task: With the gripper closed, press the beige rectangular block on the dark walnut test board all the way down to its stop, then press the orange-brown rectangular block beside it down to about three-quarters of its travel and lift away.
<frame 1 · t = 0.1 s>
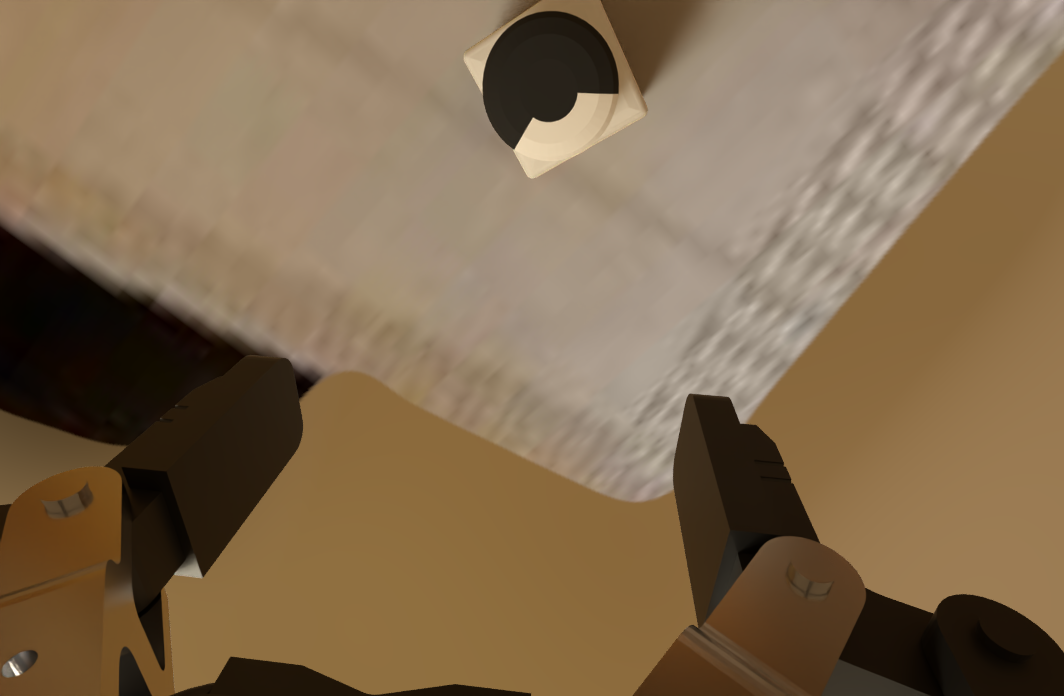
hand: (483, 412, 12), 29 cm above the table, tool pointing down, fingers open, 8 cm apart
medicine bottle: (562, 77, 35), on the table
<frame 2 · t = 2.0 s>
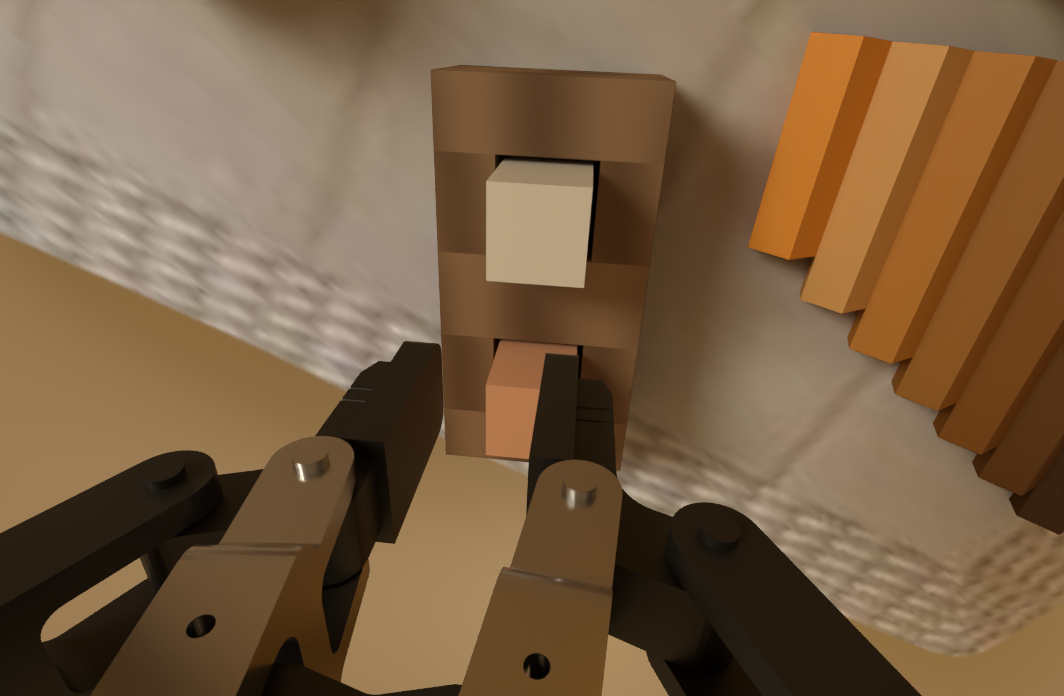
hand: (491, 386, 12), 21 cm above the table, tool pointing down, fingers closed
test board: (548, 260, 33), on the table
pan flute: (943, 304, 33), on the table
orange-brown rectangular block: (533, 393, 29), point 7 cm above the table, slide at 0.0 cm
beige rectangular block: (542, 217, 25), point 7 cm above the table, slide at 0.0 cm
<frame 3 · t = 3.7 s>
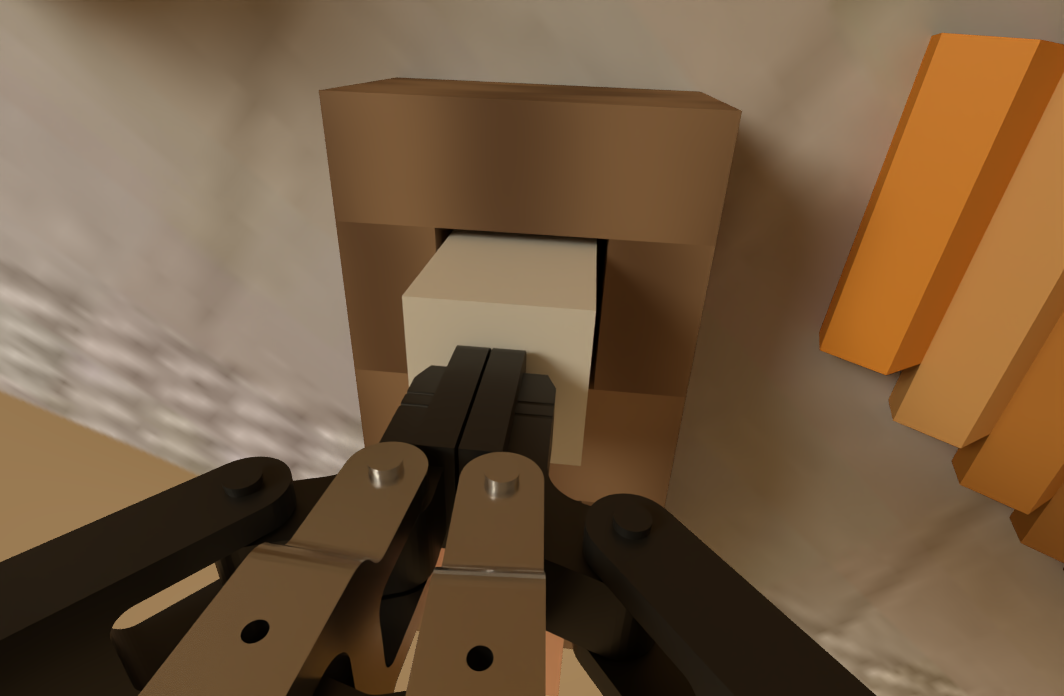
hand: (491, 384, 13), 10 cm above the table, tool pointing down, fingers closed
test board: (533, 352, 23), on the table
orange-brown rectangular block: (507, 571, 19), point 7 cm above the table, slide at 0.0 cm
beige rectangular block: (513, 331, 15), point 7 cm above the table, slide at 0.1 cm, touching gripper
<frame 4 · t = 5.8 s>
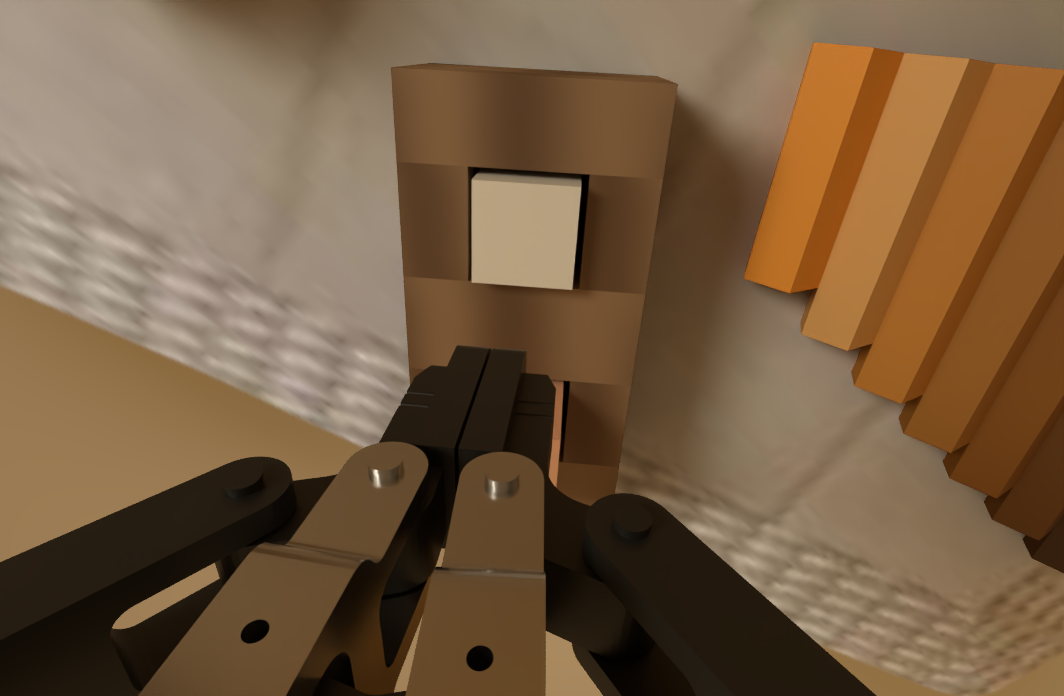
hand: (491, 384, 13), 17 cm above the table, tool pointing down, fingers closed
test board: (531, 282, 30), on the table
pan flute: (954, 336, 30), on the table
orange-brown rectangular block: (514, 435, 25), point 7 cm above the table, slide at 0.0 cm
beige rectangular block: (529, 217, 24), point 4 cm above the table, slide at 3.1 cm
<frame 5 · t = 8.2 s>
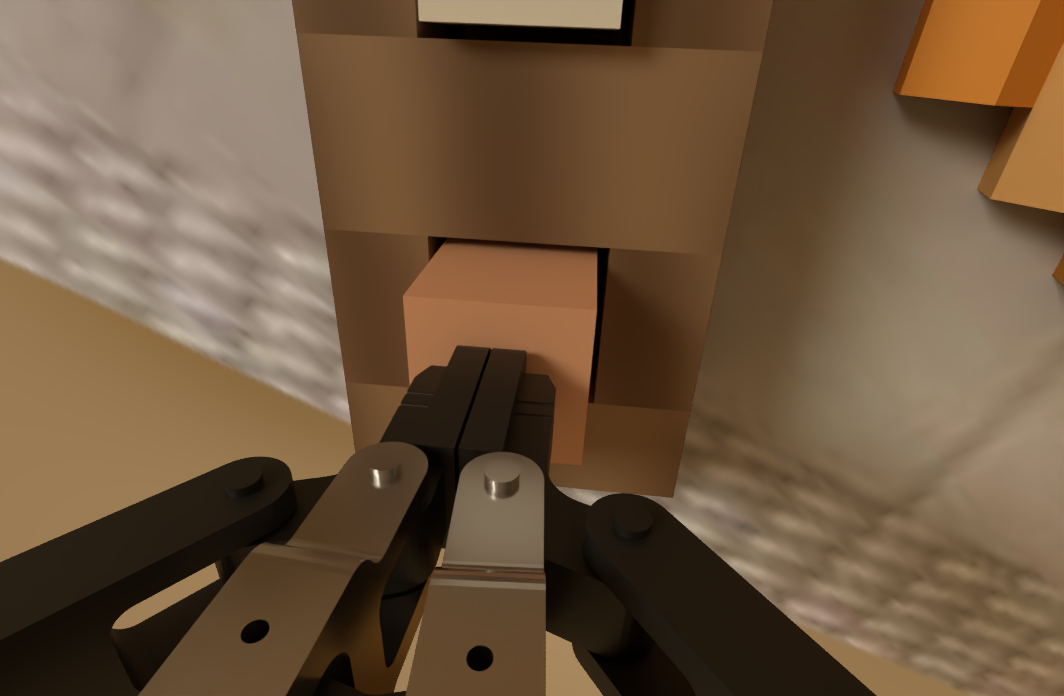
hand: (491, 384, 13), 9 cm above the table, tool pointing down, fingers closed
test board: (542, 119, 18), on the table
orange-brown rectangular block: (514, 331, 15), point 6 cm above the table, slide at 0.9 cm, touching gripper
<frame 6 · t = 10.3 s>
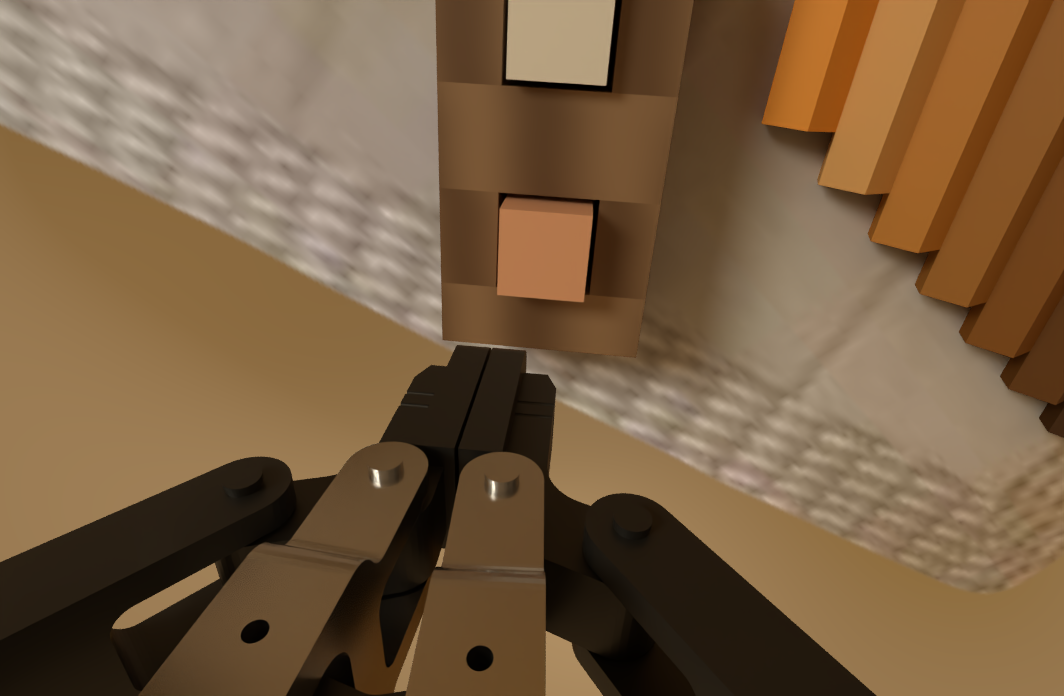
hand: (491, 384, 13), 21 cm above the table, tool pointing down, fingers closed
test board: (558, 127, 30), on the table
pan flute: (971, 195, 30), on the table
orange-brown rectangular block: (547, 238, 28), point 5 cm above the table, slide at 2.3 cm
beige rectangular block: (562, 27, 24), point 4 cm above the table, slide at 3.1 cm
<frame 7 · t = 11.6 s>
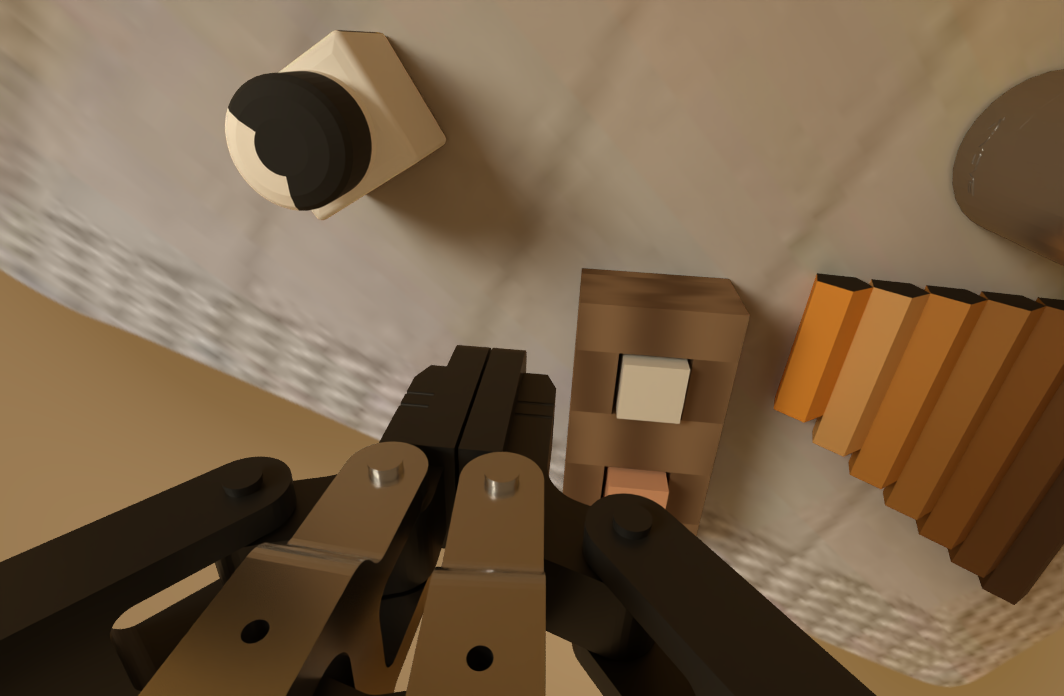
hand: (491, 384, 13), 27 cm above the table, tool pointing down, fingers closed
medicine bottle: (374, 117, 36), on the table
test board: (636, 396, 44), on the table
pan flute: (919, 438, 44), on the table
orange-brown rectangular block: (632, 484, 42), point 5 cm above the table, slide at 2.3 cm
beige rectangular block: (648, 372, 38), point 4 cm above the table, slide at 3.1 cm
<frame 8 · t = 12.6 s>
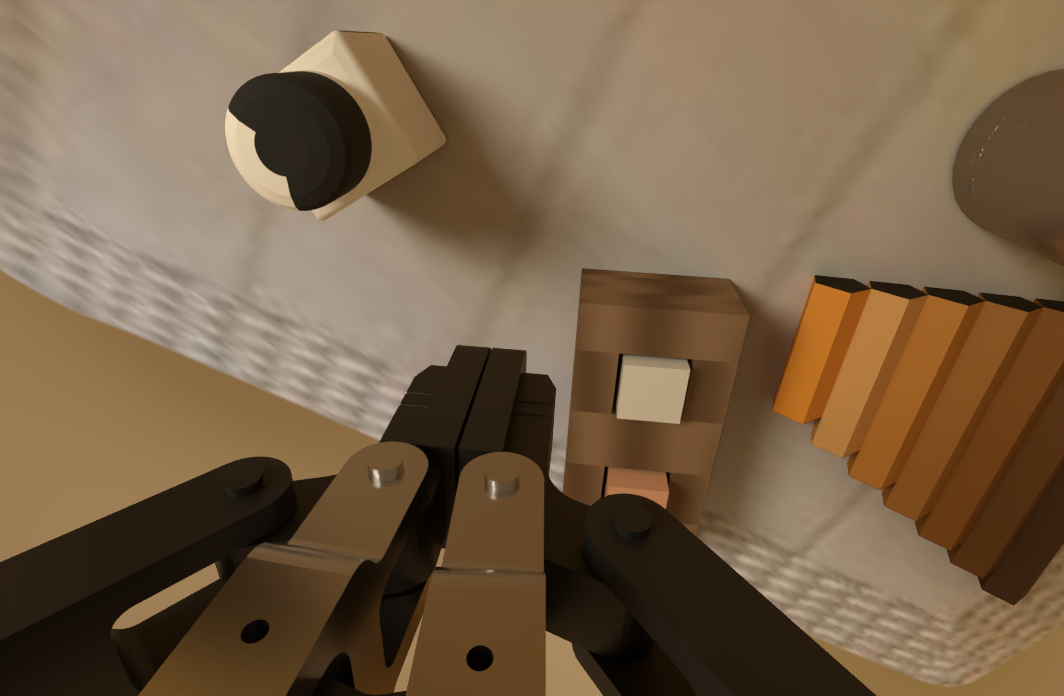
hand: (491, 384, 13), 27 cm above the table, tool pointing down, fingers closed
medicine bottle: (374, 117, 36), on the table
test board: (636, 396, 44), on the table
pan flute: (918, 439, 44), on the table
orange-brown rectangular block: (632, 484, 42), point 5 cm above the table, slide at 2.3 cm
beige rectangular block: (648, 372, 38), point 4 cm above the table, slide at 3.1 cm
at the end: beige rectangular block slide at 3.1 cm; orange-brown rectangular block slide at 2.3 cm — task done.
